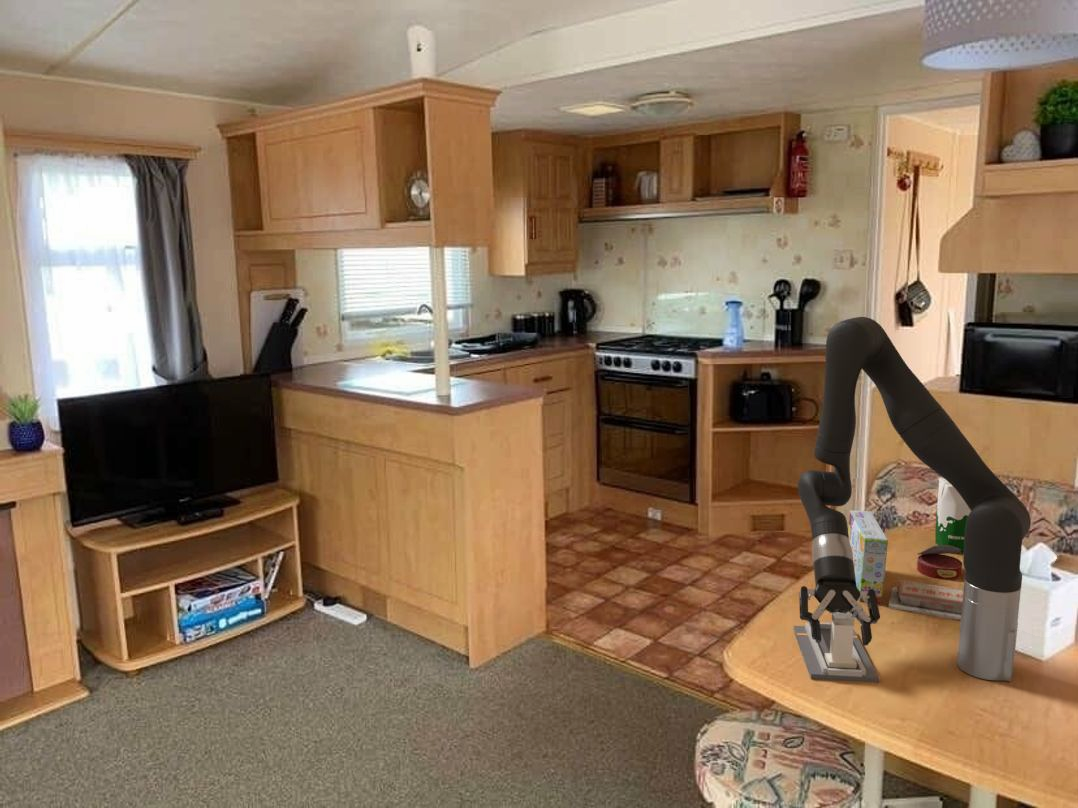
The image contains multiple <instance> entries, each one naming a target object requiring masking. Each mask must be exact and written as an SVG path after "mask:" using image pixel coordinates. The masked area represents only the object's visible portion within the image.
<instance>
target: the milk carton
mask: <svg viewBox="0 0 1078 808" xmlns="http://www.w3.org/2000/svg"><path fill="white" fill-rule="evenodd" d="M937 493H938V494H937V502H936V503H937V505H936V506H937V507H936V517H935V518H936V519H935V534H934V535H935V537H934V538H935V539H934V540H935V544H936V546H942V545H949V546H953V547H957V548H959V549H960V550H961V551H960V552H957V553H956V554H964V537H965V526H966V521H967V518H968V515H969V514H970V512H971V510H970V509H969V507H968V505H967V504H966V503H965V501H964V500H963V498H962V497H961V496H960V494H959V493H958V492H957V490H956V489H955V488H954V487H953V486H952V485H951V484H950V483H949V482H948V481H947V480H946V479H944V478H943V477H938V491H937Z"/></svg>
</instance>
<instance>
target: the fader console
mask: <svg viewBox="0 0 1078 808" xmlns="http://www.w3.org/2000/svg"><path fill="white" fill-rule="evenodd" d="M804 623H805V624H804V625H793V630H794V631H793V630H792V631H793V633H794V636H795V638H796V641H798V642H797V644H798V647H799V650H800V652H801V655H802V658H803V661H804V663H805V666H806V669H807V672H808V675H809V677H810V680H823V681H838V682H839V681H843V682H861V683H875V684H876V683H877V684H879V683H880V682H879V681H880V677H879V675H878V673H877V671H876V669H875V667H874V665H873V663H872V662H871V660H870V657H869V656H868V654H867V652H866V650H865V648H864V645H863V643H862V642H861V639H860V637H858V635H857V633H856V630H855V629H854V634H853V650H852V655H853V657H854V659H855V661H856V663H857V667H856V669H854V668H835V667H828V665H827V662H826V660H825V653H830V640H831V622H820V629H821V642H820V643H816V640H815V639H813V638H812V634H811V624H810V622H809V621H808V622H804Z"/></svg>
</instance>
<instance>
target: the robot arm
mask: <svg viewBox="0 0 1078 808" xmlns="http://www.w3.org/2000/svg"><path fill="white" fill-rule="evenodd" d="M824 364H825V369H824V370H825V371H824V388H823V399H822V407H821V408H822V409H821V415H820V419H819V424H818V429H817V434H816V440H815V443H814V444H815V445H814V450H813V454H814V458H815V459H816V460H817V461H819V462H820V463H824V464H825V465H829V466H832V467H834V471H825V470H824V471H823V470H815V469H811V470H810V469H809V470H806V471H803V473H802V474H801V475H800V476H799V478H798V481H797V491H798V496H799V498H800V501H801V503H802V506H803V508H804V510H805V513H806V515H807V518H808V520H809V523H810V530H811V540H812V545H811V546H812V548H811V549H812V551H811V554H812V555H811V556H812V559H811V561H812V564H813V572H814V573H813V574H814V584H815V588H808V587H807V586H806V585H803V586H801V587H800V590H799V592H798V595H799V596H798V597H799V599H798V600H799V602H798V604H799V618H800V620H802V621H806V622H808V623H809V622H810V624H811V634H812V638H813V639H815V640H816V643H820V642H821V629H820V621H821V620H819V619H820V618H821V616H822V615H823V614H824V612H826V611H827V612H829V614H832V612H833V613H852V615H853V617H854V619H856V620H857V621H858V622H859V623H860V632H861V640H862V642H861V643H862V646H868V645H869V644H870V643H871V641H872V639H873V634H872V627H871V625H872V624H874V625H876V624H878V621H879V620H880V619H881V613H880V609H879V605H878V602H877V599H876V594H875V591H874V590H873V589H870V590H869V591H859V590H858V588H857V586H856V578H855V570H854V563H853V555H852V549H851V545H850V542H849V535H848V529H849V526H848V522H847V518H846V516H845V514H844V513H842V512H841V511H839V510H836V509H833V508H831V507H843V506H845V505H846V504H847V503H848V502H849V501H850V500H851V498H852V497H851V496H852V493H853V487H852V478H851V468H850V466H851V453H852V448H853V444H854V440H855V433H856V429H857V428H856V427H857V413H856V399H855V398H856V388H857V383H858V380H859V377H860V374H861V371H863V372H864V373H865V375H867V376H868V378H869V379H870V380H871V381H872V382H873V384H874V386H875V387H876V389H877V390H878V392H879V394H880V395H881V399H882V401H883V404H884V407H885V410H886V412H887V413H886V414H887V415H888V418H889V420H890V423H891V424H892V426H893V428H894V430H895V431H896V433H897V434H898V436H899V437H900V438H901V439H902V441H903V442H904V443H905V445H906V446H907V447H908V449H909V450H910V451H911V452H912V453H913V454H914V455H915V457H917V458H918V460H920V461H921V462H922V463H923V464H924V465H926V466H927V467H928V468H929V469H931V470H932V471H934V472H935V473H936V474H938V475H939V476H940V477H941V478H944V479H946V480H947V481H948V482H949V483H950V484H951V485H952V486H953V487H954V488H955V489H956V490H957V492H958V493H959V494H960V496H961V497H962V498H963V500H964V501H965V503H966V504H967V505H968V507H969V509H970V510H971V512H970V514H969V515H968V518H967V521H966V526H965V537H964V553H963V557H962V558H963V559H962V560H963V561H962V565H963V568H964V581H963V590H964V591H963V602H962V613H961V620H960V627H959V637H958V649H957V659H956V660H957V666H958V667H959V669H960V670H961V671H962V672H964V673H966V674H968V675H970V676H972V677H975V678H979V679H982V680H986V681H987V680H988V681H997V682H998V681H1006V682H1012V678H1013V672H1014V665H1015V656H1016V648H1017V647H1016V646H1017V639H1018V638H1017V636H1018V628H1019V627H1018V625H1019V614H1020V613H1019V612H1020V603H1021V591H1022V585H1023V583H1022V582H1023V573H1022V571H1021V558H1022V557H1021V556H1022V547H1023V540H1024V539H1025V537H1026V536H1027V535H1028V534H1029V531H1030V529H1031V525H1032V524H1031V523H1032V522H1031V521H1032V520H1031V516H1030V512H1029V510H1028V509H1027V507H1026V505H1025V504H1024V503H1023V502H1022V501H1021V499H1019V498H1018V497H1017V495H1016V494H1014V493H1013V492H1012V490H1010V489H1009V487H1008V486H1006V485H1005V484H1004V483H1003V481H1002V480H1001V479H1000V478H999V477H998V476H997V475H996V474H995V473H994V472H993V471H992V470H991V469H990V468H989V466H987V464H986V463H985V462H984V460H983V459H982V458H981V456H980V455H979V453H978V452H977V451H976V449H975V448H974V447H973V445H972V444H971V442H969V440H968V439H967V437H965V435H964V434H963V433H962V431H961V430H960V428H959V427H958V426H957V424H956V423H955V421H954V420H953V418H951V417H950V415H949V414H948V413H947V411H946V410H945V409H944V408H943V407H942V405H941V404H940V403H939V402H938V401H937V400H936V398H935V397H934V396H933V395H932V394H931V392H930V391H929V390H928V389H927V388H926V386H925V385H924V384H923V382H922V381H921V380H920V378H918V376H917V375H916V374H915V373H914V371H912V370H911V369H910V367H909V366H908V365H907V363H906V362H905V360H904V359H903V357H902V356H901V354H900V353H899V351H898V349H897V348H896V347H895V345H894V343H893V342H892V340H891V338H890V336H889V335H888V334H887V332H886V331H885V329H884V328H883V327H882V326H881V324H880V323H878V322H877V321H876V320H875V319H872V318H870V317H867V316H856V317H852V318H847V319H844V320H840V321H839V322H837V323H835V324H834V325H833V326H832V327H831V328H830V330H829V331H828V334H827V336H826V341H825V363H824ZM813 596H814V598H815V599H816V600H817V602H818V603H819V604H818V606H817V607H816V609H815V610H814V612H810V611H809V601H810V600H811V598H812V597H813ZM859 597H860V598H862V599H863V601H862V602H864V603H865V604H867V609H868V614H867V613H866V611H865V610H864V609H863V607H862V605H861V604H860V603H859V602H858V600H859Z"/></svg>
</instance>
